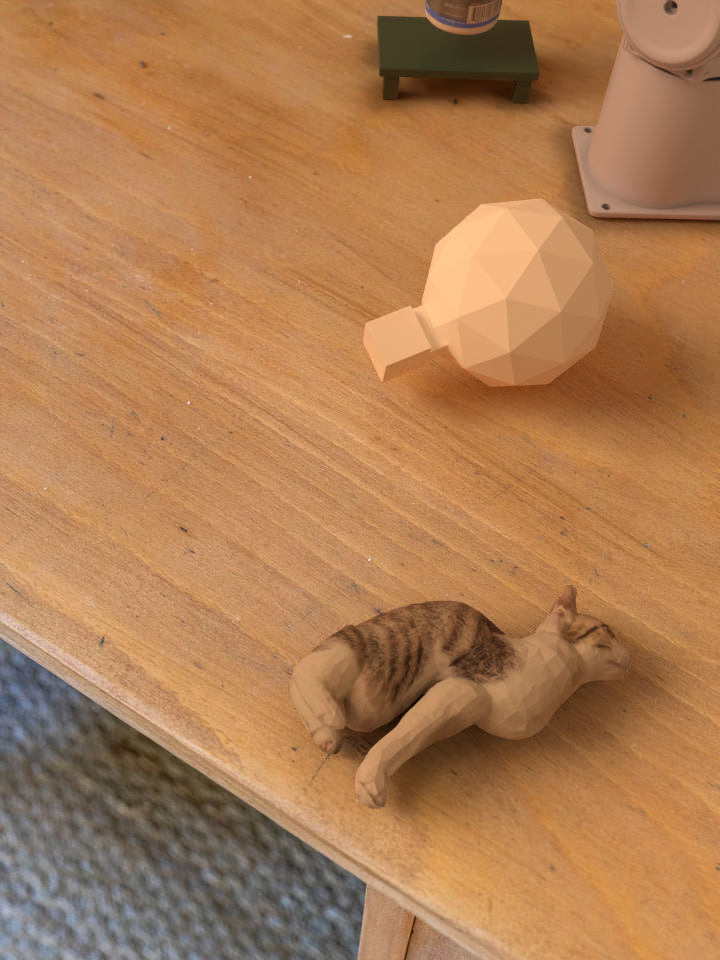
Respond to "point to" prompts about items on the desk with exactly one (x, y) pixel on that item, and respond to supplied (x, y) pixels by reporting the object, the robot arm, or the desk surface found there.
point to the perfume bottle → (502, 299)
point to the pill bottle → (463, 15)
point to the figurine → (446, 679)
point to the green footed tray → (455, 54)
